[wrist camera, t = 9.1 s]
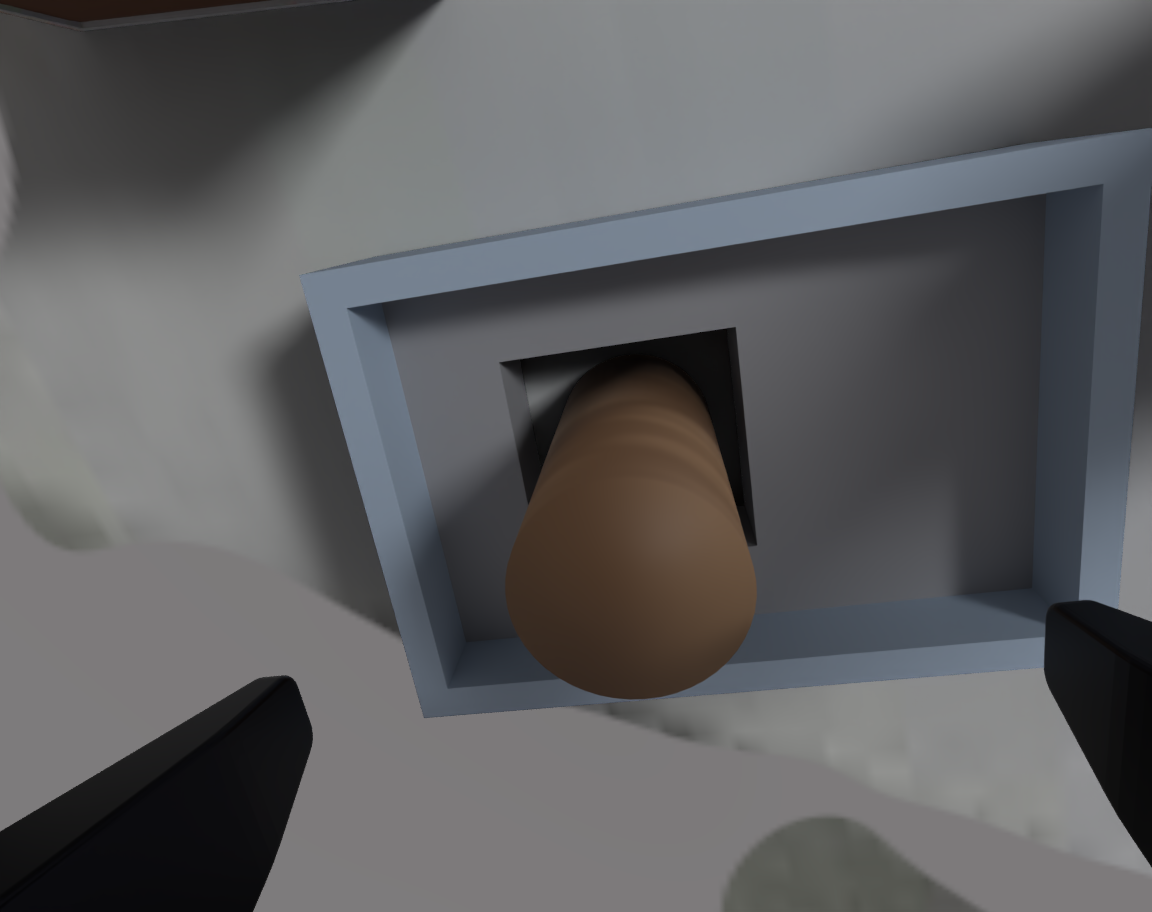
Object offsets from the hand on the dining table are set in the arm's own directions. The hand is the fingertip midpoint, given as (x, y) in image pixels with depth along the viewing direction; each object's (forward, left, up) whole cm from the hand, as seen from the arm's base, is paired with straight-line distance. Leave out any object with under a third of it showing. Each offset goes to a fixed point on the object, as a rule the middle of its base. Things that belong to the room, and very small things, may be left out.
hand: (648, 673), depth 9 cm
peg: (0, +1, -12) cm, 12 cm away
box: (-2, +1, -12) cm, 12 cm away
